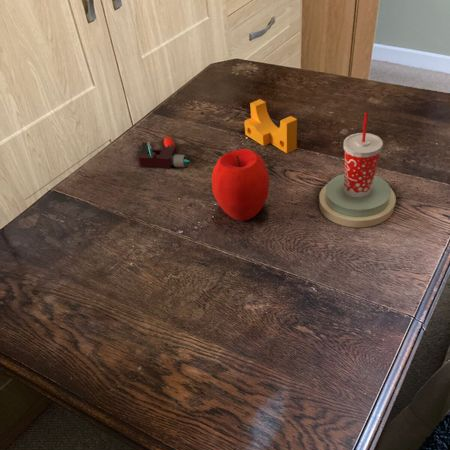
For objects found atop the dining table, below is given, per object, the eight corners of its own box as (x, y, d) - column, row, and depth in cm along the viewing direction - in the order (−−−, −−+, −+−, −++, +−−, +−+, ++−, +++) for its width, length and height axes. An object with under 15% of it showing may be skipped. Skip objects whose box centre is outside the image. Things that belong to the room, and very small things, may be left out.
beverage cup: (335, 182, 87) (341, 106, 77) (369, 177, 87) (380, 100, 77) (344, 202, 83) (352, 125, 73) (380, 197, 83) (393, 119, 73)
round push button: (406, 195, 88) (409, 181, 85) (374, 236, 81) (377, 222, 79) (339, 175, 93) (341, 161, 91) (305, 213, 87) (305, 199, 85)
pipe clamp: (245, 134, 107) (243, 106, 102) (261, 127, 108) (260, 99, 104) (280, 156, 100) (279, 127, 95) (296, 148, 101) (297, 119, 97)
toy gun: (189, 171, 99) (185, 149, 96) (133, 169, 102) (128, 148, 98) (200, 145, 106) (197, 124, 102) (148, 144, 108) (143, 123, 105)
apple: (236, 191, 93) (231, 132, 84) (281, 206, 89) (280, 145, 80) (205, 220, 88) (195, 161, 79) (251, 238, 84) (246, 177, 75)
